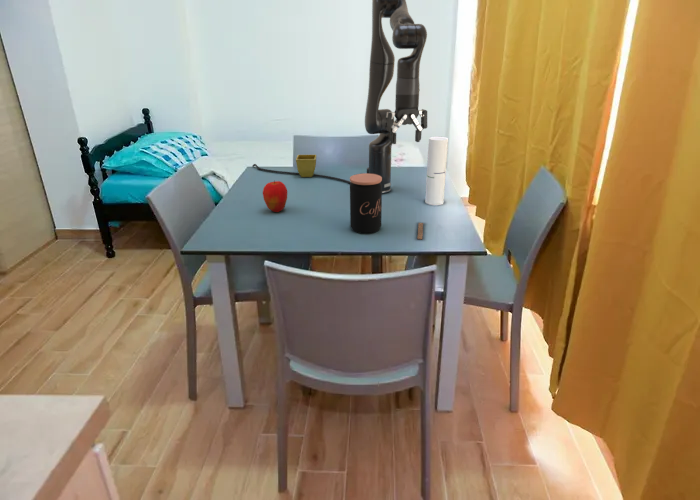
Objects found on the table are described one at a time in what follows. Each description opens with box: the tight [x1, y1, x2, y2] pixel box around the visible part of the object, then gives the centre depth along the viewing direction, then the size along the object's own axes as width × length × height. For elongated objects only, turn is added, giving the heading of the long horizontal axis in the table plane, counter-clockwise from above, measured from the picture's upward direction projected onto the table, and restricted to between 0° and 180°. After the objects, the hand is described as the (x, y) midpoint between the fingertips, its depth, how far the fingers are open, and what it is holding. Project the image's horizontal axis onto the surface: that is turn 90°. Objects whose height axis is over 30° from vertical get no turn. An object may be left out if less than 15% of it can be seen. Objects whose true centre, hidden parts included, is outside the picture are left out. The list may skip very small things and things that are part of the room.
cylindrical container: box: [424, 135, 449, 206], centre depth 187 cm, size 7×7×25 cm
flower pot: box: [295, 154, 317, 178], centre depth 226 cm, size 9×9×9 cm
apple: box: [262, 180, 288, 213], centre depth 183 cm, size 9×9×12 cm
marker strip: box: [416, 222, 424, 241], centre depth 165 cm, size 2×14×1 cm, turn 171°
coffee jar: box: [349, 172, 383, 235], centre depth 164 cm, size 11×11×18 cm
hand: (405, 142), depth 164 cm, fingers open, 8 cm apart
